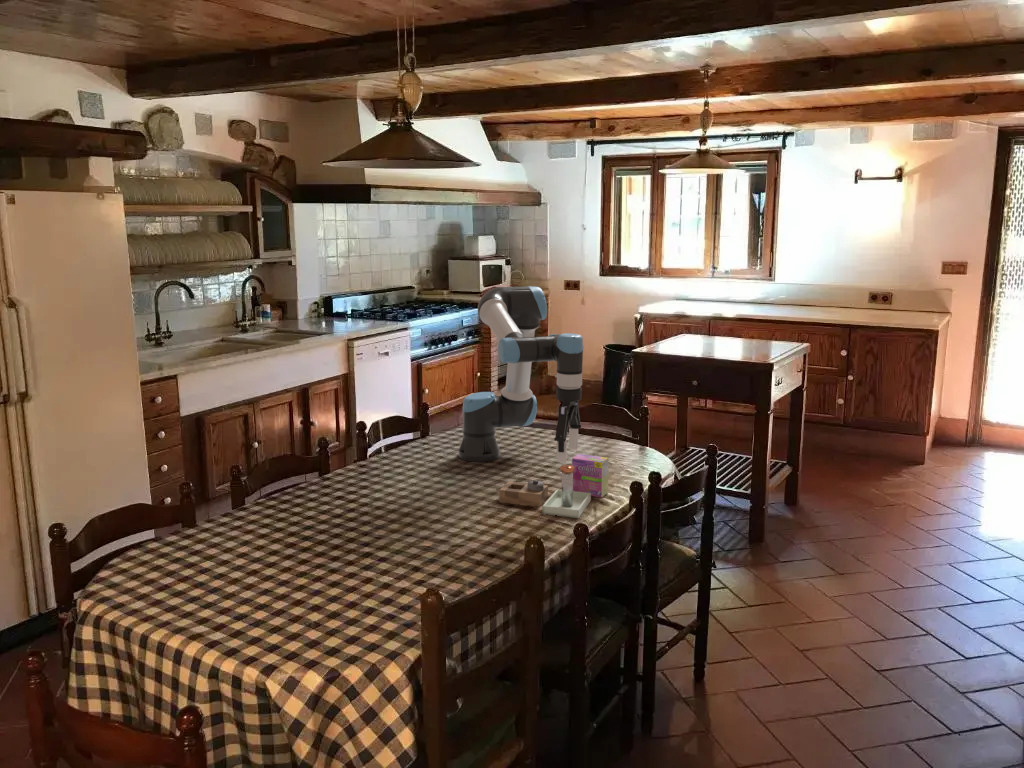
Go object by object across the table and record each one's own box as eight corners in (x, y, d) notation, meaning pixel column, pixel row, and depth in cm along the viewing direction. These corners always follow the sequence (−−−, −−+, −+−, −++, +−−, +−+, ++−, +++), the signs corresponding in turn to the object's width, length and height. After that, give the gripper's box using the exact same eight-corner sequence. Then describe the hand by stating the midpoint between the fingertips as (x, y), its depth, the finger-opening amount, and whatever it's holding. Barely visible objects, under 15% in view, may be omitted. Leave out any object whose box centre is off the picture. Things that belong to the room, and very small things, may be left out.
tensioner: (508, 493, 262) (508, 473, 260) (547, 497, 257) (548, 477, 256) (499, 502, 253) (499, 481, 252) (539, 507, 249) (539, 486, 248)
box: (571, 493, 262) (571, 457, 259) (578, 488, 267) (578, 453, 264) (601, 498, 257) (602, 462, 255) (608, 493, 262) (609, 457, 260)
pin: (562, 502, 251) (562, 464, 249) (575, 503, 250) (575, 465, 248) (558, 506, 248) (558, 468, 245) (572, 508, 246) (572, 469, 244)
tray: (556, 496, 258) (556, 489, 258) (590, 500, 255) (591, 493, 254) (542, 514, 243) (542, 506, 243) (578, 518, 240) (578, 510, 239)
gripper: (567, 377, 254) (566, 442, 259) (545, 394, 231) (543, 466, 236) (591, 379, 252) (589, 445, 256) (570, 396, 229) (569, 469, 233)
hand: (567, 455), depth 246 cm, fingers open, 13 cm apart
